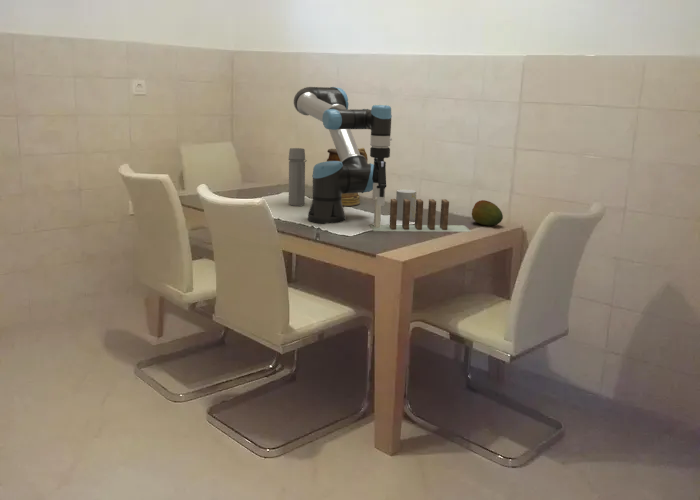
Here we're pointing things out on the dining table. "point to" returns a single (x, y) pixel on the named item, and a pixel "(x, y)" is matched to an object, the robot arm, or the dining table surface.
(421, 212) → the tile
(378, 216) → the ivory tile
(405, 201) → the tile
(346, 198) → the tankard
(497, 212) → the fruit
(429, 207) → the tile
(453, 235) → the dining table surface
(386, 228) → the strip
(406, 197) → the cup
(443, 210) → the tile
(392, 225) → the tile
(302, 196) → the water bottle
